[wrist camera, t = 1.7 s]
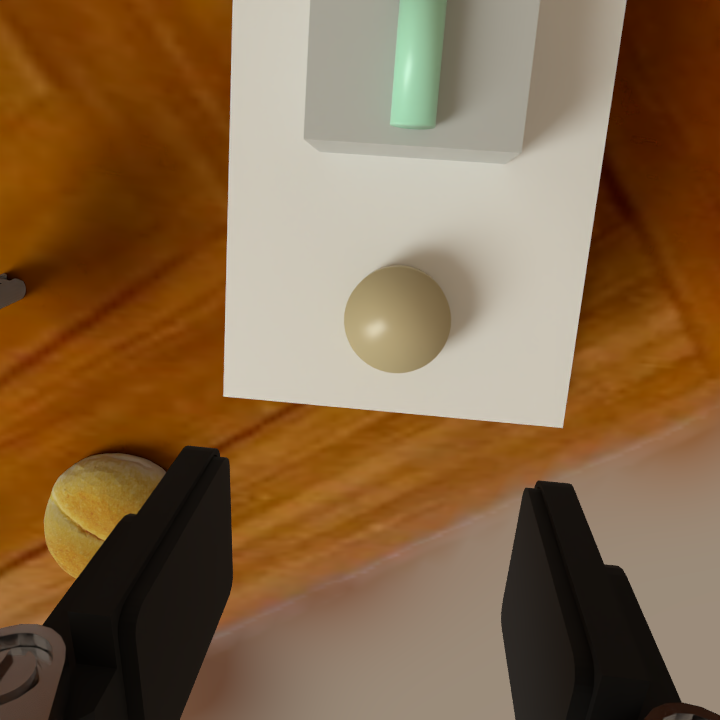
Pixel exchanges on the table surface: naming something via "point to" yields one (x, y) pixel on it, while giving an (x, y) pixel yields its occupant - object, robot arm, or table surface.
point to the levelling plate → (414, 201)
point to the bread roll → (95, 504)
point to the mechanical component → (10, 290)
